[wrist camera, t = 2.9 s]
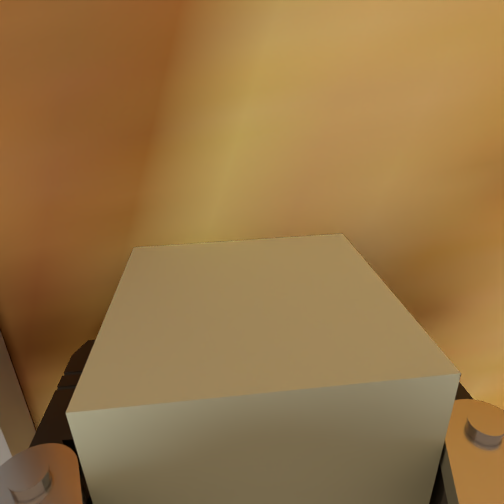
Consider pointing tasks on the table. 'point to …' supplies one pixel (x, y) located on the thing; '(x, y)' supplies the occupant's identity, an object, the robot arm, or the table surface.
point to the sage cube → (260, 381)
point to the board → (12, 411)
